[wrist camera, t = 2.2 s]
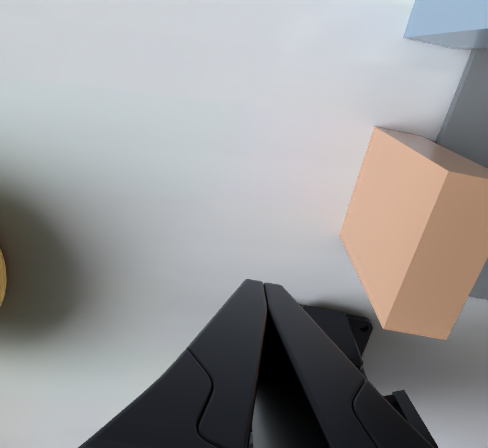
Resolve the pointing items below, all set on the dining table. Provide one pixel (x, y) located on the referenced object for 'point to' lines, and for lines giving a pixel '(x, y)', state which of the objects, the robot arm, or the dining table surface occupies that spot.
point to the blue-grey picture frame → (449, 23)
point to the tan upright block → (417, 231)
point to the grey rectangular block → (470, 129)
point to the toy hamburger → (2, 277)
